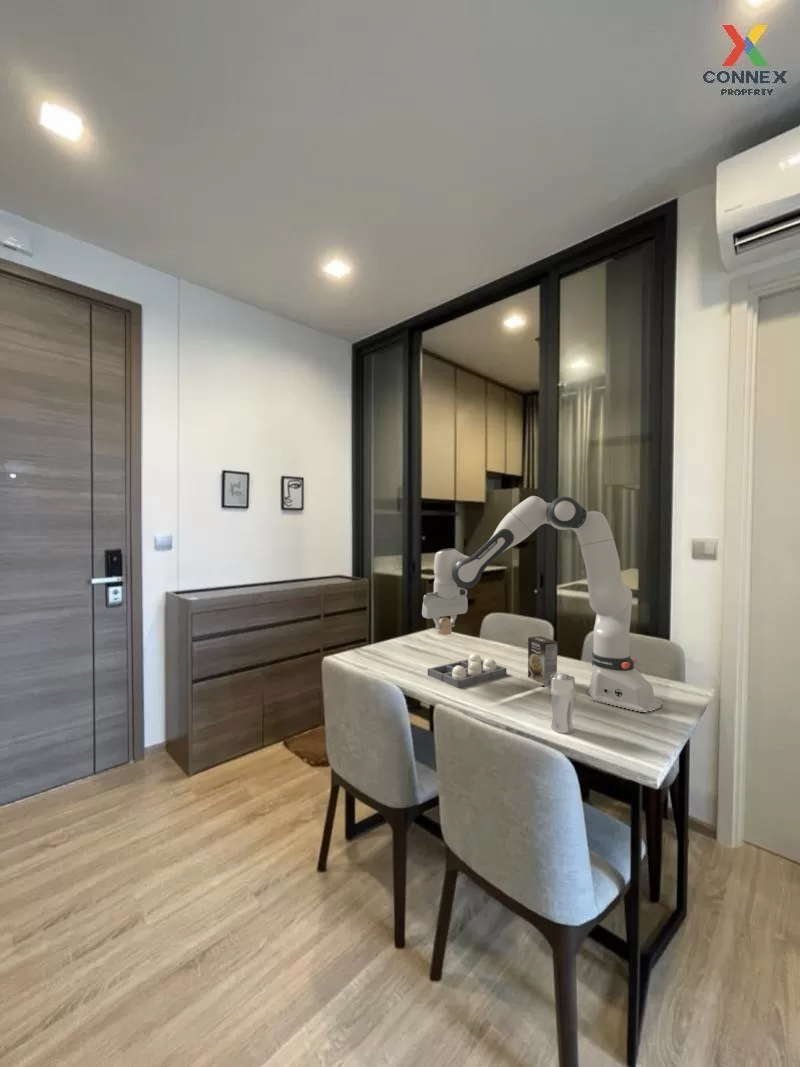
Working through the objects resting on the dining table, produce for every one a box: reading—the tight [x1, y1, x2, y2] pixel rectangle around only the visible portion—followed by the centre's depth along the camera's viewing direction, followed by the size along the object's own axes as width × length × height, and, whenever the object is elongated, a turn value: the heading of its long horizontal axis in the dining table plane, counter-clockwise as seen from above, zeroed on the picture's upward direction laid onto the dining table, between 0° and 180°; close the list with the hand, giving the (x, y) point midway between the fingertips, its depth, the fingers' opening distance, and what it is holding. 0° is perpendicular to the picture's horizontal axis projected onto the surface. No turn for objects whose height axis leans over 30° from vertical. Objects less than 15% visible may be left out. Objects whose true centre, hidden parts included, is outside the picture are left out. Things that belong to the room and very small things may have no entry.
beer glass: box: [549, 672, 577, 734], centre depth 132 cm, size 7×7×15 cm
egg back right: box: [468, 652, 482, 665], centre depth 184 cm, size 5×5×6 cm
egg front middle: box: [468, 662, 481, 675], centre depth 173 cm, size 5×5×6 cm
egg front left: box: [452, 665, 466, 680], centre depth 168 cm, size 5×5×6 cm
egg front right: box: [483, 657, 497, 671], centre depth 178 cm, size 5×5×6 cm
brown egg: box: [437, 616, 452, 636], centre depth 175 cm, size 5×5×6 cm
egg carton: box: [427, 659, 507, 689], centre depth 176 cm, size 17×25×4 cm
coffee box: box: [527, 636, 558, 688], centre depth 171 cm, size 9×6×16 cm
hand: (445, 627), depth 175 cm, fingers closed on brown egg, 5 cm apart
